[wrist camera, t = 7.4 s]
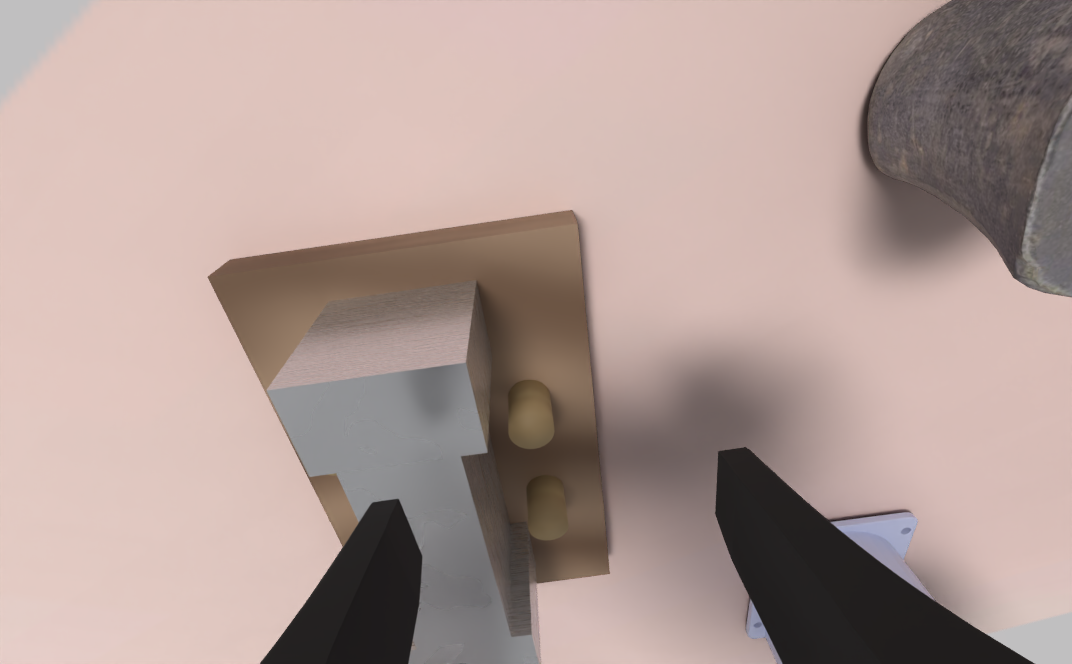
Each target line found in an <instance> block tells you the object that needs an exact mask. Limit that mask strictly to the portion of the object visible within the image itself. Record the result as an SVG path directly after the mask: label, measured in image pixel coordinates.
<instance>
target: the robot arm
mask: <svg viewBox="0 0 1072 664" xmlns="http://www.w3.org/2000/svg"><path fill="white" fill-rule="evenodd" d="M715 514H716V517H717V520H718V523H719V526H720V529H721V531H722V534H723V537H724V540H725V543H726V545H727V548H728V551H729V554H730V556H731V559H732V561H733V563H734V565H735V567H736V570H737V572H738V574H739V576H740V578H741V580H742V582H743V584H744V586H745V588H746V590H747V592H748V594H749V596H750V603H749V611H748V618H747V625H746V632H747V634H748V637H750V638H752V639H757V638H765V637H766V640H767V642H768V644H769V646H770V649H771V651H772V653H773V655H774V658H775V660H776V662H777V664H1034V663H1033V662H1031V661H1029V660H1028V659H1026V658H1024V657H1023V656H1021V655H1019V654H1018V653H1016V652H1015V651H1013V650H1011V649H1010V648H1008V647H1006V646H1005V645H1003V644H1001V643H1000V642H998V641H996V640H994V639H993V638H991V637H990V636H988V635H986V634H985V633H983V632H982V631H980V630H978V629H977V628H975V627H973V626H972V625H970V624H969V623H967V622H966V621H964V620H963V619H961V618H960V617H958V616H957V615H955V614H954V613H952V612H951V611H949V610H948V609H946V608H944V607H943V606H941V605H940V604H938V603H937V602H936V601H935V600H934V598H933V597H932V596H931V595H930V593H929V592H928V591H927V589H926V588H925V587H924V586H923V584H922V583H921V582H920V580H919V579H918V578H917V577H916V575H915V574H914V573H913V571H912V570H911V569H910V568H909V566H908V565H907V564H906V562H905V561H904V557H905V554H906V552H907V549H908V546H909V544H910V541H911V538H912V536H913V533H914V530H915V528H916V525H917V521H918V520H917V518H916V517H915V516H914V515H913V514H912V513H910V512H903V513H895V514H887V515H880V516H872V517H865V518H857V519H849V520H842V521H834V522H830V521H829V520H827V519H826V518H825V517H824V516H823V515H821V514H820V513H819V512H818V511H817V510H816V509H814V508H813V507H812V506H811V505H810V504H809V503H807V502H806V501H805V500H804V499H803V498H802V497H801V496H799V495H798V494H797V493H796V492H795V491H794V490H793V489H792V488H791V487H789V486H788V485H787V484H786V483H785V482H784V481H783V480H782V479H781V478H780V477H778V476H777V475H776V474H775V473H774V472H773V471H772V470H771V469H770V468H769V467H768V466H767V465H765V464H764V463H763V462H762V461H761V460H760V459H759V458H758V457H757V456H756V455H755V454H754V453H753V452H752V451H751V450H749V449H748V448H746V447H744V448H738V449H731V450H724V451H718V470H717V491H716V512H715ZM422 557H423V556H422V554H421V551H420V549H419V546H418V544H417V542H416V539H415V537H414V534H413V532H412V529H411V527H410V525H409V522H408V520H407V517H406V515H405V512H404V510H403V508H402V505H401V503H400V500H399V499H392V500H385V501H378V502H372V503H371V505H370V506H369V507H368V509H367V510H366V512H365V514H364V515H363V517H362V518H361V520H360V521H359V523H358V524H357V526H356V528H355V529H354V531H353V532H352V534H351V535H350V537H349V539H348V540H347V542H346V543H345V545H344V546H343V548H342V549H341V551H340V552H339V554H338V556H337V557H336V559H335V560H334V562H333V563H332V565H331V566H330V568H329V569H328V571H327V572H326V574H325V575H324V576H323V578H322V579H321V581H320V582H319V584H318V585H317V587H316V588H315V590H314V591H313V593H312V594H311V596H310V597H309V598H308V600H307V601H306V603H305V604H304V606H303V607H302V608H301V610H300V611H299V612H298V614H297V615H296V616H295V618H294V619H293V620H292V622H291V623H290V625H289V626H288V627H287V629H286V630H285V631H284V633H283V634H282V635H281V637H280V638H279V640H278V641H277V642H276V644H275V645H274V646H273V647H272V649H271V650H270V651H269V653H268V654H267V655H266V656H265V658H264V659H263V660H262V661H261V663H260V664H408V663H409V657H410V652H411V647H412V641H413V636H414V630H415V625H416V619H417V614H418V608H419V600H420V588H421V574H422Z"/></svg>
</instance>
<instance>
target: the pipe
mask: <svg viewBox="0 0 1072 664" xmlns="http://www.w3.org/2000/svg"><path fill="white" fill-rule="evenodd" d="M867 122H868V145H869V152H870V155H871V157H872V160H873V162H874V164H875V165H876V167H877V169H878V170H880V171H881V172H882V173H884V174H885V175H887V176H889V177H891V178H893V179H897V180H900V181H904V182H907V183H910V184H912V185H915V186H917V187H919V188H921V189H923V190H924V191H926V192H928V193H930V194H932V195H934V196H936V197H937V198H938V199H940V200H941V201H943V202H944V203H946V204H947V205H949V206H950V207H952V208H953V209H955V210H956V211H958V212H959V213H961V214H962V215H964V216H965V217H966V218H967V219H968V220H969V221H970V222H971V223H973V224H974V225H975V226H976V227H977V228H978V229H979V230H980V231H981V232H982V233H983V234H984V235H985V236H986V237H987V238H988V239H989V240H990V242H991V243H992V244H993V245H994V247H995V248H996V249H997V251H998V252H999V254H1000V256H1001V257H1002V259H1003V261H1004V263H1005V264H1006V266H1007V268H1008V269H1009V271H1010V273H1011V274H1012V276H1013V278H1015V279H1016V280H1018V281H1019V282H1021V283H1022V284H1024V285H1026V286H1027V287H1029V288H1032V289H1035V290H1038V291H1041V292H1044V293H1049V294H1055V295H1061V296H1067V297H1072V0H951V1H950V2H948V3H947V4H945V5H944V6H942V7H941V8H939V9H938V10H936V11H935V12H933V13H932V14H930V15H929V16H928V17H926V18H925V19H923V20H922V21H921V22H920V23H918V24H917V25H916V26H915V27H914V28H913V29H912V30H911V31H910V32H909V33H908V34H907V35H906V36H905V38H904V39H903V40H902V41H901V43H900V44H899V45H898V46H897V48H896V49H895V50H894V51H893V53H892V54H891V56H890V57H889V59H888V61H887V62H886V64H885V66H884V67H883V69H882V71H881V73H880V75H879V78H878V80H877V82H876V84H875V87H874V89H873V93H872V96H871V99H870V103H869V111H868V121H867Z"/></svg>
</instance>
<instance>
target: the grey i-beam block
mask: <svg viewBox="0 0 1072 664" xmlns="http://www.w3.org/2000/svg"><path fill="white" fill-rule="evenodd" d="M491 368H492V353H491V348H490V343H489V338H488V334H487V329H486V324H485V319H484V315H483V310H482V305H481V300H480V295H479V291H478V286H477V281H476V280H475V281H468V282H461V283H454V284H447V285H440V286H433V287H426V288H419V289H412V290H405V291H398V292H391V293H384V294H377V295H370V296H363V297H356V298H349V299H342V300H335V301H329V302H328V303H327V305H326V306H325V307H324V309H323V310H322V312H321V313H320V315H319V316H318V317H317V319H316V320H315V322H314V323H313V325H312V326H311V327H310V329H309V330H308V332H307V333H306V335H305V336H304V337H303V339H302V340H301V342H300V343H299V344H298V346H297V347H296V349H295V350H294V352H293V353H292V354H291V356H290V357H289V359H288V360H287V362H286V363H285V364H284V366H283V367H282V369H281V370H280V372H279V373H278V374H277V376H276V377H275V379H274V380H273V382H272V383H271V384H270V386H269V387H268V389H267V390H266V391H267V393H268V395H269V397H270V399H271V401H272V403H273V405H274V407H275V409H276V411H277V413H278V415H279V417H280V419H281V421H282V423H283V425H284V427H285V429H286V431H287V433H288V435H289V437H290V439H291V441H292V443H293V445H294V447H295V449H296V451H297V453H298V455H299V457H300V459H301V461H302V463H303V465H304V467H305V469H306V471H307V473H308V475H309V477H313V476H320V475H328V474H335V473H336V474H337V476H338V479H339V481H340V483H341V485H342V487H343V490H344V492H345V494H346V496H347V498H348V500H349V503H350V505H351V507H352V509H353V511H354V513H355V516H356V518H357V520H358V522H359V521H360V520H361V518H362V517H363V515H364V514H365V512H366V510H367V509H368V507H369V506H370V505H371V503H372V502H378V501H385V500H392V499H399V500H400V503H401V505H402V508H403V510H404V512H405V515H406V517H407V520H408V522H409V525H410V527H411V529H412V532H413V534H414V537H415V539H416V542H417V544H418V546H419V549H420V551H421V554H422V556H423V557H422V574H421V588H420V600H419V608H418V614H417V619H416V625H415V630H414V636H413V641H412V647H411V652H410V657H409V663H408V664H541V651H540V634H539V616H538V599H537V581H536V564H535V559H534V554H533V549H532V544H531V539H530V535H529V530H528V525H527V522H520V523H513V524H510V520H509V516H508V512H507V507H506V503H505V499H504V494H503V490H502V486H501V482H500V477H499V473H498V469H497V465H496V460H495V456H494V452H493V447H492V443H491V439H490V435H489V412H490V390H491Z"/></svg>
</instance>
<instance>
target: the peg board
mask: <svg viewBox="0 0 1072 664" xmlns="http://www.w3.org/2000/svg"><path fill="white" fill-rule="evenodd" d="M208 279H209V281H210V283H211V285H212V287H213V289H214V291H215V293H216V295H217V297H218V299H219V301H220V303H221V305H222V307H223V309H224V311H225V313H226V315H227V317H228V319H229V321H230V323H231V325H232V327H233V329H234V331H235V333H236V335H237V337H238V339H239V341H240V343H241V345H242V347H243V349H244V351H245V353H246V354H247V356H248V358H249V360H250V362H251V364H252V366H253V368H254V370H255V372H256V374H257V376H258V378H259V380H260V382H261V384H262V386H263V388H264V390H265V392H266V394H267V396H268V398H269V400H270V402H271V404H272V406H273V408H274V410H275V412H276V414H277V416H278V418H279V420H280V422H281V424H282V426H283V428H284V430H285V432H286V434H287V436H288V438H289V440H290V442H291V444H292V446H293V448H294V450H295V452H296V454H297V456H298V458H299V460H300V462H301V464H302V466H303V468H304V470H305V472H306V474H307V476H308V478H309V480H310V482H311V484H312V486H313V488H314V490H315V492H316V494H317V496H318V498H319V500H320V502H321V504H322V506H323V508H324V510H325V512H326V514H327V516H328V518H329V520H330V522H331V524H332V526H333V528H334V530H335V532H336V534H337V536H338V538H339V540H340V542H341V544H342V546H344V545H345V543H346V542H347V540H348V539H349V537H350V535H351V534H352V532H353V531H354V529H355V528H356V526H357V524H358V523H359V522H358V520H357V518H356V516H355V513H354V511H353V509H352V507H351V505H350V503H349V500H348V498H347V496H346V494H345V492H344V490H343V487H342V485H341V483H340V481H339V479H338V476H337V474H336V473H335V474H328V475H320V476H313V477H309V475H308V473H307V471H306V469H305V467H304V465H303V463H302V461H301V459H300V457H299V455H298V453H297V451H296V449H295V447H294V445H293V443H292V441H291V439H290V437H289V435H288V433H287V431H286V429H285V427H284V425H283V423H282V421H281V419H280V417H279V415H278V413H277V411H276V409H275V407H274V405H273V403H272V401H271V399H270V397H269V395H268V393H267V391H266V390H267V389H268V387H269V386H270V384H271V383H272V382H273V380H274V379H275V377H276V376H277V374H278V373H279V372H280V370H281V369H282V367H283V366H284V364H285V363H286V362H287V360H288V359H289V357H290V356H291V354H292V353H293V352H294V350H295V349H296V347H297V346H298V344H299V343H300V342H301V340H302V339H303V337H304V336H305V335H306V333H307V332H308V330H309V329H310V327H311V326H312V325H313V323H314V322H315V320H316V319H317V317H318V316H319V315H320V313H321V312H322V310H323V309H324V307H325V306H326V305H327V303H328V302H329V301H335V300H342V299H349V298H356V297H363V296H370V295H377V294H384V293H391V292H398V291H405V290H412V289H419V288H426V287H433V286H440V285H447V284H454V283H461V282H468V281H475V280H476V281H477V286H478V291H479V295H480V300H481V305H482V310H483V315H484V319H485V324H486V329H487V334H488V338H489V343H490V348H491V353H492V368H491V390H490V412H489V435H490V439H491V443H492V447H493V452H494V456H495V460H496V465H497V469H498V473H499V477H500V482H501V486H502V490H503V494H504V499H505V503H506V507H507V512H508V516H509V520H510V524H513V523H520V522H527V525H528V530H529V535H530V539H531V544H532V549H533V554H534V559H535V564H536V581H537V583H544V582H551V581H559V580H567V579H574V578H582V577H590V576H597V575H605V574H610V571H609V560H608V549H607V538H606V527H605V516H604V505H603V494H602V484H601V473H600V462H599V451H598V440H597V429H596V418H595V407H594V397H593V386H592V375H591V364H590V353H589V342H588V331H587V320H586V309H585V299H584V288H583V277H582V266H581V255H580V244H579V233H578V223H577V221H576V218H575V216H574V213H573V211H572V210H570V211H563V212H556V213H549V214H542V215H535V216H528V217H522V218H515V219H508V220H501V221H494V222H487V223H480V224H473V225H466V226H459V227H453V228H446V229H439V230H432V231H425V232H418V233H411V234H404V235H397V236H391V237H384V238H377V239H370V240H363V241H356V242H349V243H342V244H335V245H328V246H322V247H315V248H308V249H301V250H294V251H287V252H280V253H273V254H266V255H260V256H253V257H246V258H239V259H232V260H229V261H228V262H227V263H225V264H224V265H223V266H221V267H220V268H219V269H217V270H216V271H215V272H213V273H212V274H211V275H210V276H208Z"/></svg>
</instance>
